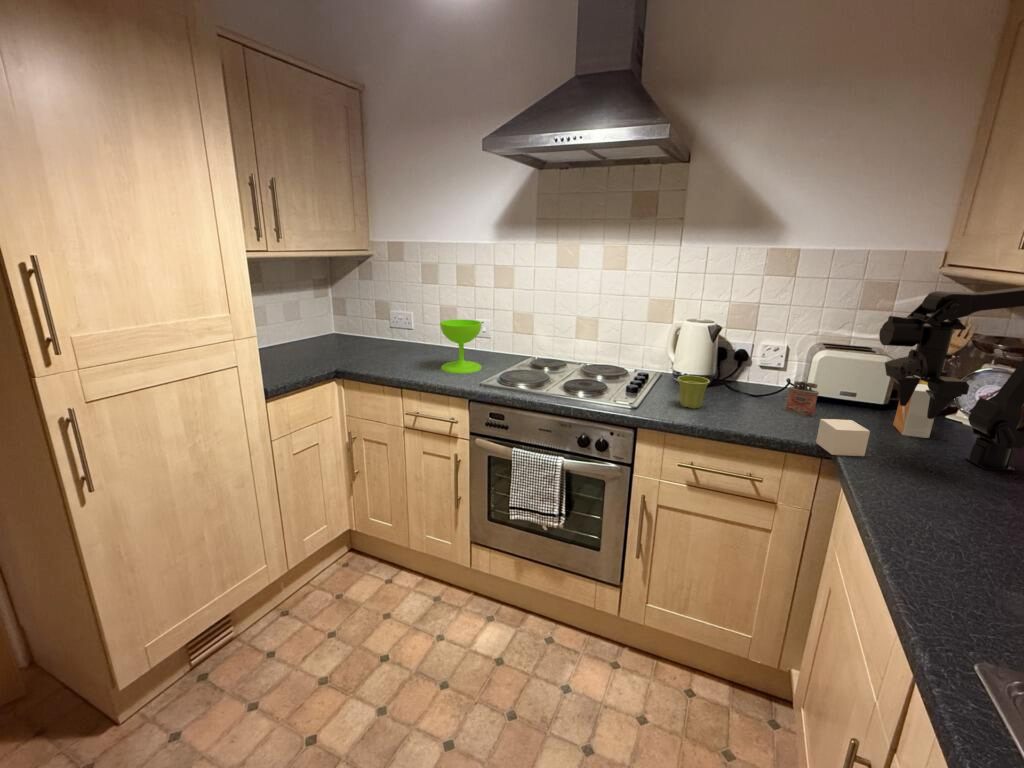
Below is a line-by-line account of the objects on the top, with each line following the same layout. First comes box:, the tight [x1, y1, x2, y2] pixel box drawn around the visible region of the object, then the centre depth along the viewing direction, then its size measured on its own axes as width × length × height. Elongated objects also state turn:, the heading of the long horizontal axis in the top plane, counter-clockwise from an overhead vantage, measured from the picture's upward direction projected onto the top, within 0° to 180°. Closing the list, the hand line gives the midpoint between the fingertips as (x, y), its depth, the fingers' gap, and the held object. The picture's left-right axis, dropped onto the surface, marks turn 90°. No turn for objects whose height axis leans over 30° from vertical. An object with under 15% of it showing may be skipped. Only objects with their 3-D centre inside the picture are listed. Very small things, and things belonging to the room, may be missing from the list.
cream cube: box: [815, 418, 871, 457], centre depth 127 cm, size 8×8×7 cm
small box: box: [892, 383, 935, 439], centre depth 139 cm, size 8×6×13 cm
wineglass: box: [439, 318, 483, 374], centre depth 197 cm, size 16×16×18 cm
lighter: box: [784, 380, 820, 417], centre depth 153 cm, size 8×3×10 cm, turn 47°
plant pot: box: [677, 375, 711, 409], centre depth 158 cm, size 9×9×9 cm
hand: (915, 411), depth 120 cm, fingers open, 9 cm apart
